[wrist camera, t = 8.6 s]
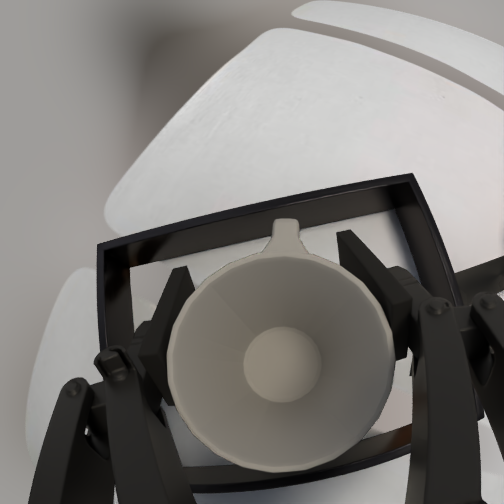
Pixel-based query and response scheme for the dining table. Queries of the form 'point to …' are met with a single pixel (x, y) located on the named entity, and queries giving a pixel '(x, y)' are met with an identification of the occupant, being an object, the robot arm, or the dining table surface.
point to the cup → (281, 358)
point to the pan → (260, 225)
